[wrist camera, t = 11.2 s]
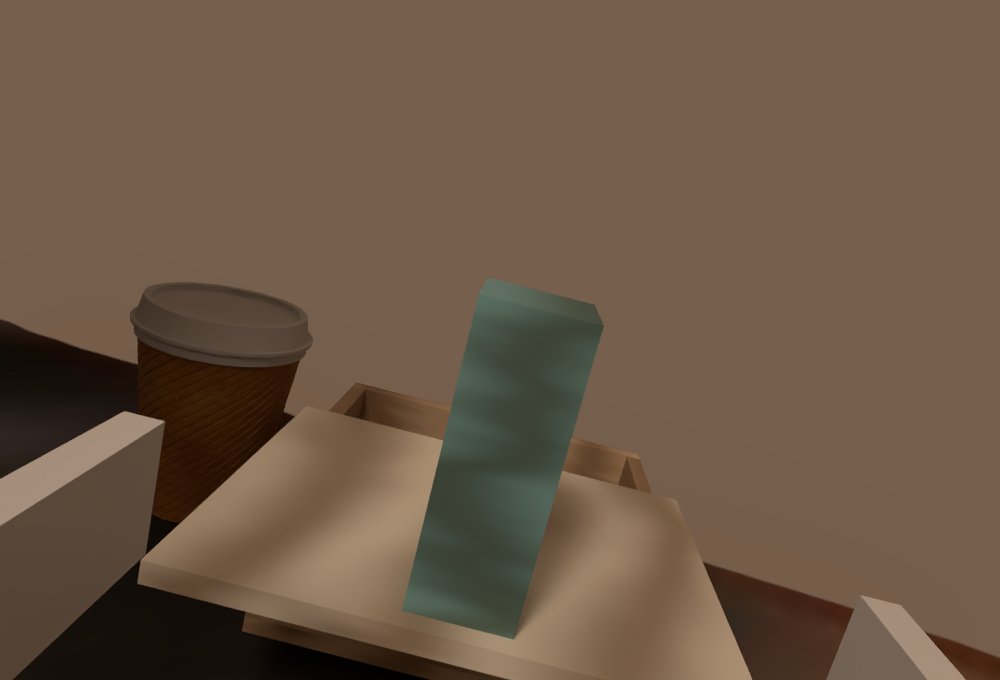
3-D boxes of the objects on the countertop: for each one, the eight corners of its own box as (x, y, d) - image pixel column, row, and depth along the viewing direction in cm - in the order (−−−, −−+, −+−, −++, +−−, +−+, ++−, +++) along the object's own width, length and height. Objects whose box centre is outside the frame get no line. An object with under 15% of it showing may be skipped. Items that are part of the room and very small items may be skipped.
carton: (242, 631, 32) (272, 471, 30) (332, 498, 46) (356, 382, 44) (628, 730, 32) (680, 575, 30) (602, 567, 46) (637, 454, 44)
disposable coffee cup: (312, 501, 45) (349, 320, 42) (197, 563, 36) (234, 340, 33) (197, 448, 48) (225, 276, 45) (65, 494, 39) (90, 284, 36)
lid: (137, 583, 21) (189, 225, 19) (304, 420, 36) (345, 208, 33) (761, 744, 21) (894, 404, 18) (671, 514, 35) (739, 308, 33)
